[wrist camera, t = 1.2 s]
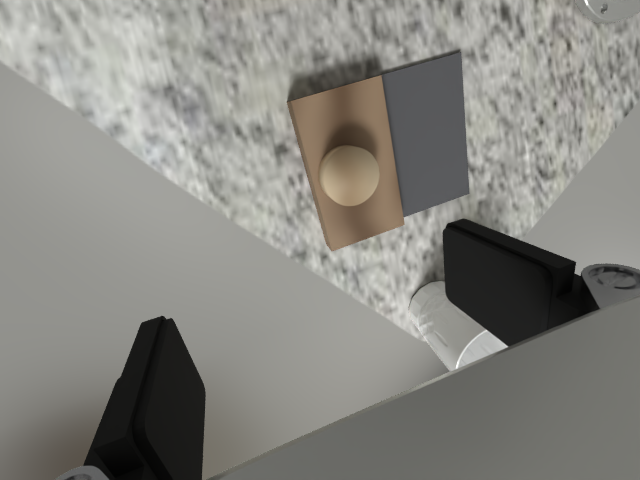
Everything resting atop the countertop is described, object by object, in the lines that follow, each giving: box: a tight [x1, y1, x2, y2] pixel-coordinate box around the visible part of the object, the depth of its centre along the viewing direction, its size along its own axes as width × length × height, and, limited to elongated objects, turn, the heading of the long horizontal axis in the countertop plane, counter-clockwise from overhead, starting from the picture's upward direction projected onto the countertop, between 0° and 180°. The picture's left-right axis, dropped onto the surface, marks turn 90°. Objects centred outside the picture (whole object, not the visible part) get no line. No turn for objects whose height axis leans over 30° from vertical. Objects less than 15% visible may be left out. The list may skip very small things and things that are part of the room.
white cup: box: [409, 281, 508, 372], centre depth 35 cm, size 8×8×10 cm
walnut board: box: [287, 75, 405, 251], centre depth 30 cm, size 8×14×2 cm, turn 15°
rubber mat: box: [379, 52, 469, 217], centre depth 32 cm, size 9×14×1 cm, turn 15°
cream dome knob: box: [318, 145, 379, 206], centre depth 28 cm, size 5×5×2 cm
